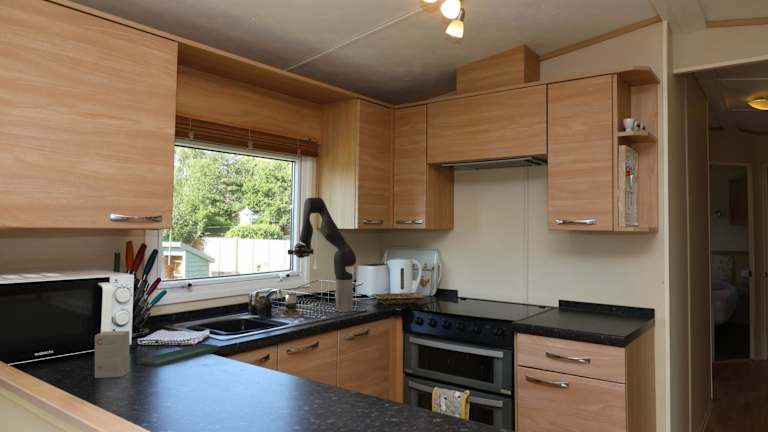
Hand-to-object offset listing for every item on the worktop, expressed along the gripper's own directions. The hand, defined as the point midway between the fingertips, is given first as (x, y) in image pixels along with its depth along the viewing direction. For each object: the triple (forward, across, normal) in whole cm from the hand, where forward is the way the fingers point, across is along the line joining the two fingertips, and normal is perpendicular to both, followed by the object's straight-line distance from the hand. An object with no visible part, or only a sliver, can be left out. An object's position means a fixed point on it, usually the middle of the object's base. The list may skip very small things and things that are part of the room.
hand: (300, 252), depth 288 cm
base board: (+17, -4, +32) cm, 37 cm away
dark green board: (+101, -37, +33) cm, 112 cm away
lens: (+17, -4, +31) cm, 36 cm away
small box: (+121, -52, +32) cm, 136 cm away
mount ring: (+17, -4, +32) cm, 37 cm away
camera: (+18, -20, +32) cm, 42 cm away
